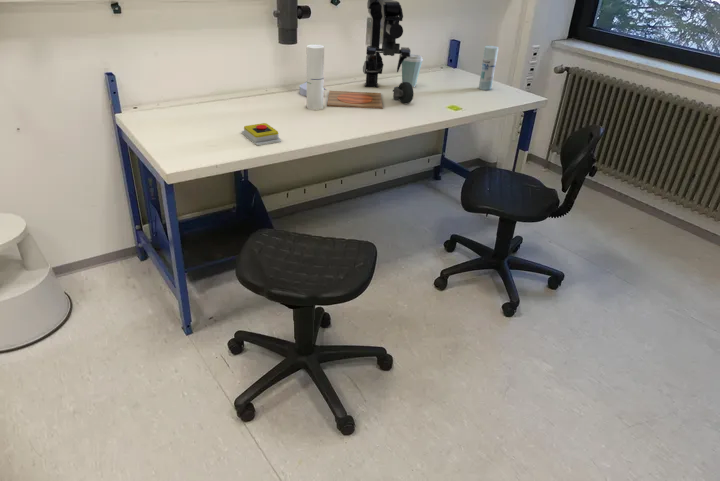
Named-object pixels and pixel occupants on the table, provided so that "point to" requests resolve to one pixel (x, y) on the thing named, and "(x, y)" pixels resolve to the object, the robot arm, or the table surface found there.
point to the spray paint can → (488, 67)
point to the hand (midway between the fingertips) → (386, 71)
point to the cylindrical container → (315, 76)
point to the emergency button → (261, 134)
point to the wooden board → (354, 99)
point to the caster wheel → (403, 92)
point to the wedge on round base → (304, 89)
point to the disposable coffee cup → (411, 69)
